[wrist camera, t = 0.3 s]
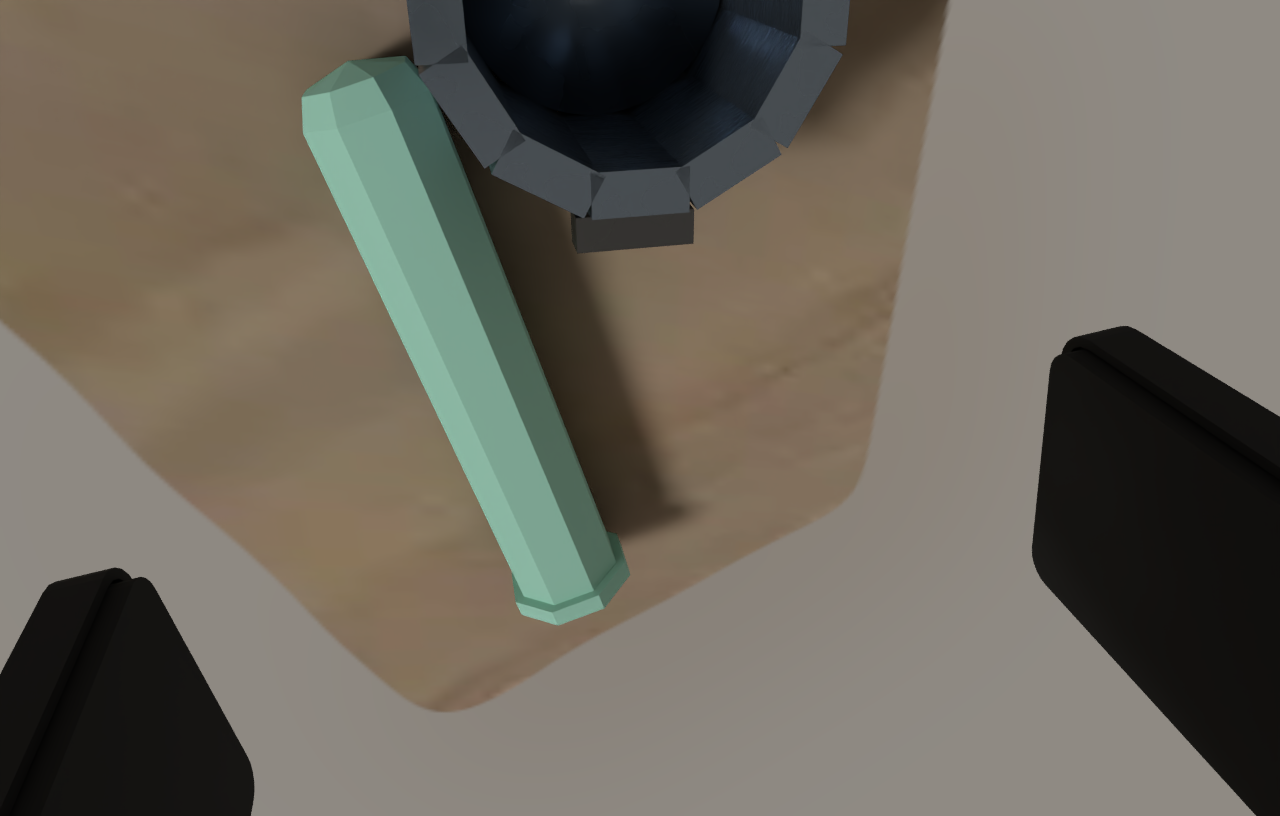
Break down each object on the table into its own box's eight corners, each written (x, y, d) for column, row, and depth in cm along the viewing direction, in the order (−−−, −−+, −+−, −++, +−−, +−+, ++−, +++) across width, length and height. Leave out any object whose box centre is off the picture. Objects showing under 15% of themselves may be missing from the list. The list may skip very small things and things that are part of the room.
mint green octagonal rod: (290, 95, 29) (551, 646, 41) (454, 30, 31) (654, 572, 43) (249, 89, 33) (495, 586, 46) (394, 32, 35) (591, 522, 48)
